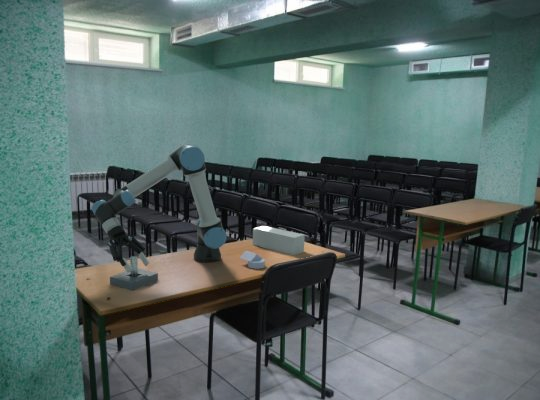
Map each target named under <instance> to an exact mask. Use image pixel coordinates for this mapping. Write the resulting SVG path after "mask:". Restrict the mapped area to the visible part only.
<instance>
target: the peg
mask: <svg viewBox="0 0 540 400" xmlns="http://www.w3.org/2000/svg"><path fill="white" fill-rule="evenodd" d="M129 262H130V263H129V265H130V267H131V269H132V270H131V271H130V277H137V276H138V268H139V267H138V256H136V255H132V256H130V257H129Z"/></svg>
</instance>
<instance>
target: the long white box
mask: <svg viewBox="0 0 540 400" xmlns="http://www.w3.org/2000/svg"><path fill="white" fill-rule="evenodd" d="M305 236H306V234H303V233H299V232H294V231H290V230H284V229H280V228H276V227H272V226H271V227H270V226H267V225H261V226H257V227H254V228H252V244H251V245H252V246H256V247H260V248H264V249H268V250H272V251H275V252H280V253H283V254H284V253H285V254H287V255H291V256H296V255H299V254H301V253H304V252H305V239H306V237H305Z"/></svg>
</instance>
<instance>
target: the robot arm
mask: <svg viewBox="0 0 540 400" xmlns="http://www.w3.org/2000/svg"><path fill="white" fill-rule="evenodd" d="M206 170H207V166H206V163H205V154H204V151H202V149H200V148H199V146H196V145H192V144H183V145H181V146H179V147H178V148H177V149H176V150H175V151H173V152H171V153H170V154H169V155H168V156H167V158H166V159H165V160H163V161H162V162H160V163H158V164H156V165H155V166H154V167H152V168H151V169H149V170H147V171H146V172H145V173H143V174H141V175H140V176H139V177H137V178H135V179H134V180H132V181H131V182H129V183H128V184H125V186H123V187H121V188H118V189H117V190H115V191H114V192H113V197H112V198H111V199H108V201H106V200H105V199H101V200H98V201H96V202H94V203H93V204H92V206H91V211H92V212H93V214H94V217H95V218H96V219H97V221H98V222H99V224H100V226H101V228H102V229H103V230H104V232H105V233H106V234H107V235H106V236H107V237H108V238H109V240H108V242H107V246H108V247H109V250H110V253H111V256H112V258H113V259H112V260H113V262H115V261H116V262H117V263H119V264H120V265H121V266H122V267H123V268H124V269H125V271H127V273H129V272H130V271H131V270H132V269H131V267H130V263H128V261H127V259H126V258H125V257H123V247H127V248H129V249H131V250H132V251H134V252H135V253H136V254H138V256H137V257H138V258H139V259H140V261H142V264H143V265H144V266H145V268H146V267H148V265H150V261H149V260H148V258H147V255H146V254H145V253H144V251H146V248H145V247H144V245H142V244H141V242H139V241H138V240H137V239H136V238H135V236H134V234H130V235H127V234H126V230H125V229H124V227H123V226H122V225H121V223H120V221H119V220H118V218H117V217H116V216H117V215H118V214H120V213H121V212H123V211H125V210H126V209H128V208H130V207H131V206H132V205H134V204H135V203H136V198H137V196H139V195H141V194H142V193H144V192H145V191H147V190H148V189H150V188H152V187H154V186H155V185H156V184H158V183H159V182H161V181H162V180H164V179H165V178H167V177H169V176H170V175H172V174H173V173H175V172H180V171H182V174H183V176H184V177H186V178H187V179H188V183H189V184H188V185H189V187H190V190H191V193H192V197H193V200H194V203H195V207H196V210H197V213H198V219H197V222H196V227H197V228H196V235H197V237H196V247H195V250H194V253H193V260H194V261H196V262H200V263H214V262H219V261H220V260H222V253H221V251H220V248H221V247H223V245H225V244H226V242H227V237H228V236H227V232H226V229H224V227H223V223H222V220H221V218H219V217H217V216H218V215H217V213H216V209H215V206H214V204H213V199H212V196H211V195H212V194H211V192H210V188H209V185H208V182H207V181H208V180H207V177H206V175H205V172H206Z"/></svg>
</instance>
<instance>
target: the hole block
mask: <svg viewBox="0 0 540 400" xmlns="http://www.w3.org/2000/svg"><path fill="white" fill-rule="evenodd" d="M158 280H159V273H158V272H156V271H155V272H154V271H152V270H147V269H143V268H139V267H138V276H137V277H130V272H129V273H127V271H126V270H125V271H123V272H120V273H117V274H114V275H111V276H109V285H112V286H115V287H119V288H123V289H125V290H129V291H135V290H137V289H140V288H142V287H145V286H147V285H149V284H153V283H155V282H158Z"/></svg>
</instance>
